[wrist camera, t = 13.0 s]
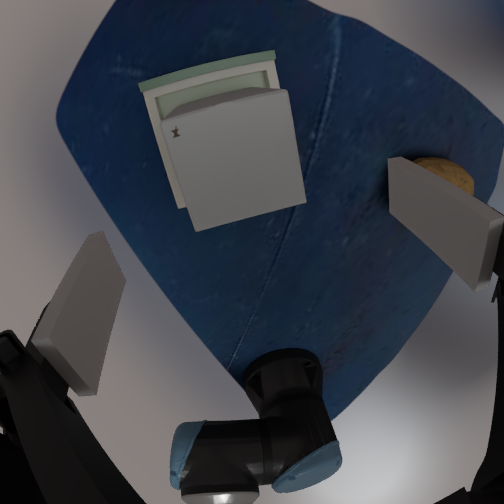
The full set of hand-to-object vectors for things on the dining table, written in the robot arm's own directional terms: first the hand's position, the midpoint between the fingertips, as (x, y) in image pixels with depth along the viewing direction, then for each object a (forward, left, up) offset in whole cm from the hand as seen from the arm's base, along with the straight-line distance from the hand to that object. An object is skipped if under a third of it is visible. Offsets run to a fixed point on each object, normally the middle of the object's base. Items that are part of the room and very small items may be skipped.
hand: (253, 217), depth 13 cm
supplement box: (0, 0, -24) cm, 24 cm away
